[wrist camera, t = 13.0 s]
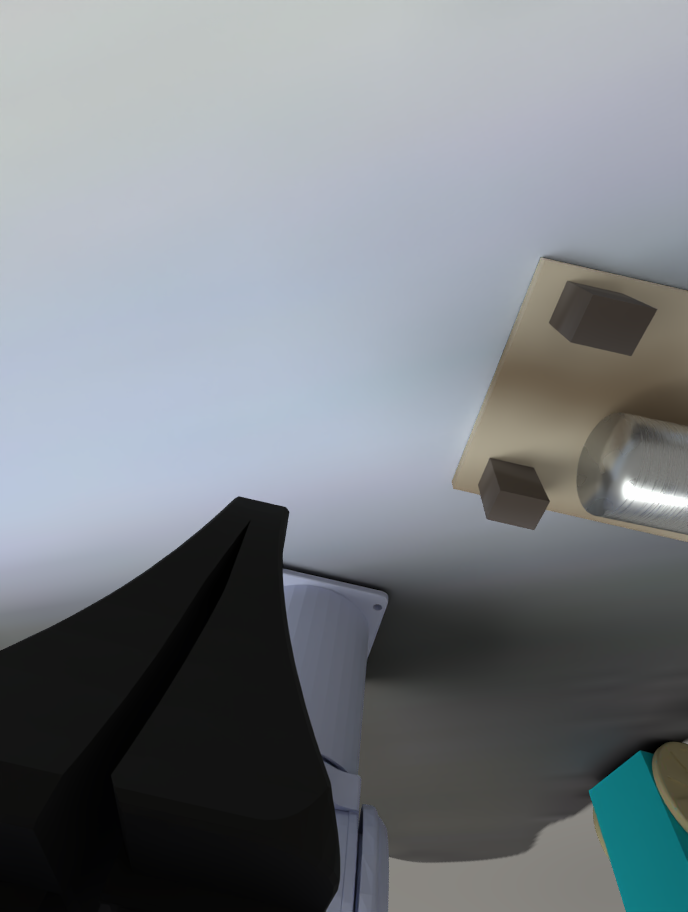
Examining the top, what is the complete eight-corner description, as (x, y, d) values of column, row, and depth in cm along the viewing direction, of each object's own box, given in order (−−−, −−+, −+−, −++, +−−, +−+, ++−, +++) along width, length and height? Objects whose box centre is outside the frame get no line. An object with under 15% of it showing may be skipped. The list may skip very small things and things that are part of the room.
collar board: (738, 546, 21) (796, 607, 18) (452, 481, 21) (460, 530, 18) (922, 344, 16) (1048, 380, 13) (540, 257, 16) (574, 272, 13)
